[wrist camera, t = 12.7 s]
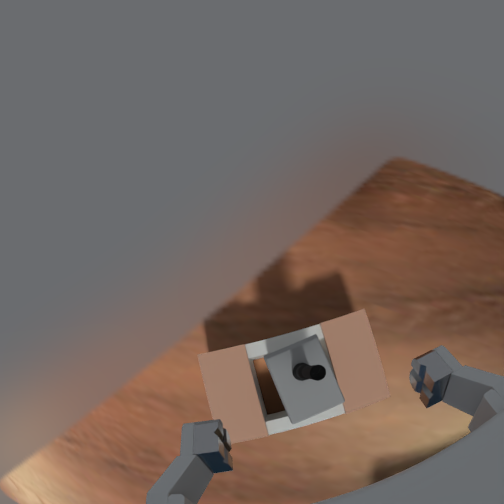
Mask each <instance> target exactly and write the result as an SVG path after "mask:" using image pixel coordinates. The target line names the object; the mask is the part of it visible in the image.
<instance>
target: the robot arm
mask: <svg viewBox="0 0 504 504" xmlns="http://www.w3.org/2000/svg"><path fill="white" fill-rule="evenodd" d="M411 366H412V367H413V369H412V370H411V372H410V377H409V378H410V383H411V385H412V388H413V389H414V391H416V392H418V393H420V399H421V401H422V402H423V404H424V405H425V407H426V408H428V407H430V406H432V405H434V404H436V403H438V402H440V401H442V400H443V402H445V403H447V404H449V405H451V406H453V407H455V408H457V409H459V410H461V411H463V412H465V413H467V414H470V415H472V416H473V418H472V420H471V422H470V424H469V426H468V428H469V429H470V431H471V433H469V434H468V435H466V436H465V437H463V438H462V439H460V440H459V441H457V442H455V443H454V444H452V445H450V446H449V447H447V448H445V449H444V450H442V451H440V452H438V453H437V454H435V455H433V456H431V457H429V458H428V459H426V460H424V461H422V462H420V463H418V464H416V465H414V466H412V467H410V468H408V469H406V470H404V471H401V472H399V473H397V474H395V475H393V476H390V477H388V478H386V479H383V480H381V481H378V482H376V483H373V484H371V485H368V486H366V487H363V488H360V489H357V490H355V491H352V492H349V493H346V494H343V495H340V496H337V497H333V498H330V499H327V500H323V501H319V502H316V503H312V504H504V377H503V376H500V375H496V374H493V373H489V372H486V371H482V370H479V369H476V368H472V367H469V366H466V365H465V366H462V365H461V364H460V363H459V362H458V361H457V360H456V359H455V358H454V356H453V355H452V354H451V353H450V352H449V351H448V350H447V349H446V348H445V347H444V346H442V345H441V346H439V347H437V348H435V349H433V350H430V351H429V352H427V353H425V354H423V355H420V356H418V357H416V358H414V359H413V360H412V364H411ZM231 449H232V448H231V441H230V436H229V434H228V432H227V430H226V429H225V428H223V423H222V421H221V420H220V419H217V420H210V421H202V422H194V423H186V424H183V426H182V435H181V450H180V456H177V457H176V458H175V459H174V461H173V462H172V463H171V464H170V466H169V467H168V468H167V469H166V471H165V472H164V473H163V474H162V476H161V477H160V478H159V479H158V481H157V482H156V483H155V484H154V485H153V487H152V488H151V489H150V490H149V491H148V493H147V499H146V504H197V503H198V501H199V499H200V497H201V496H202V494H203V492H204V491H205V489H206V487H207V485H208V484H209V482H210V480H211V478H212V477H213V475H214V474H213V473H220V472H226V471H232V470H233V460H232V456H231V455H230V453H229V452H230V450H231Z"/></svg>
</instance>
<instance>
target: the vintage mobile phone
mask: <svg viewBox="0 0 504 504" xmlns="http://www.w3.org/2000/svg"><path fill="white" fill-rule="evenodd" d="M264 360H265V362H266V364H267V367H268V369H269V372H270V374H271V377H272V379H273V381H274V384H275V386H276V389H277V391H278V393H279V396H280V398H281V400H282V403H283V405H284V408H285V410H286V412H287V415H288V417H289V419H290V422H291V423H292V424H296V423H298V422H301V421H303V420H306V419H308V418H311V417H313V416H315V415H318V414H320V413H322V412H324V411H327V410H329V409H331V408H333V407H335V406H337V405H340V404H342V403H344V402H345V399H344V396H343V394H342V392H341V389H340V387H339V385H338V382H337V380H336V378H335V375H334V373H333V371H332V368H331V366H330V364H329V361H328V359H327V357H326V355H325V352H324V350H323V348H322V345H321V343H320V341H319V339H318V336H317V335H316V334H315V335H312V336H310V337H308V338H305V339H303V340H301V341H298V342H296V343H294V344H291V345H289V346H287V347H284V348H282V349H279V350H277V351H274V352H272V353H269V354H267V355H264Z"/></svg>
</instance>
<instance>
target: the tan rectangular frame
mask: <svg viewBox="0 0 504 504" xmlns="http://www.w3.org/2000/svg"><path fill="white" fill-rule="evenodd" d="M315 334H316V335H317V336H318V339H319V341H320V343H321V345H322V348H323V350H324V352H325V355H326V357H327V359H328V361H329V364H330V366H331V368H332V371H333V373H334V375H335V378H336V380H337V382H338V385H339V387H340V389H341V392H342V394H343V396H344V399H345V402H344V403H342V404H340V405H337V406H335V407H333V408H331V409H329V410H327V411H324V412H322V413H320V414H318V415H315V416H313V417H311V418H308V419H306V420H303V421H301V422H298V423H296V424H292V423H291V422H290V419H289V417H288V415H287V412H286V410H285V411H281V412H277V413H273V414H269V415H267V412H266V408H265V405H264V401H263V397H262V393H261V390H260V386H259V382H258V378H257V374H256V371H255V367H254V363H253V360H255V359H259V358H263V357H264V355H267V354H269V353H272V352H274V351H277V350H279V349H282V348H284V347H287V346H289V345H291V344H294V343H296V342H298V341H301V340H303V339H305V338H308V337H310V336H312V335H315ZM198 360H199V364H200V369H201V373H202V377H203V382H204V386H205V390H206V394H207V398H208V402H209V406H210V410H211V414H212V417H213V420H217V419H220V420H221V421H222V423H223V428H225V429H226V430H227V432H228V434H229V436H230V441H231V443H237V442H242V441H247V440H253V439H257V438H262V437H267V436H269V435H270V434H275V433H279V432H283V431H287V430H291V429H295V428H298V427H302V426H305V425H309V424H312V423H316V422H319V421H322V420H325V419H329V418H332V417H335V416H338V415H341V414H344V413H346V414H347V413H350V412H353V411H355V410H358V409H361V408H363V407H366V406H369V405H371V404H374V403H376V402H379V401H381V400H383V399H386V398H388V397H390V392H389V388H388V384H387V381H386V377H385V373H384V370H383V366H382V363H381V359H380V356H379V353H378V349H377V346H376V343H375V339H374V336H373V333H372V330H371V327H370V324H369V320H368V317H367V314H366V311H365V309H362V310H359V311H356V312H353V313H350V314H347V315H344V316H341V317H338V318H335V319H332V320H329V321H325V322H322V323H320V324H318V325H315V326H311V327H308V328H304V329H301V330H298V331H294V332H291V333H287V334H283V335H280V336H276V337H272V338H269V339H265V340H261V341H257V342H253V343H249V344H242V345H238V346H234V347H230V348H226V349H221V350H217V351H212V352H208V353H203V354H198Z"/></svg>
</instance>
